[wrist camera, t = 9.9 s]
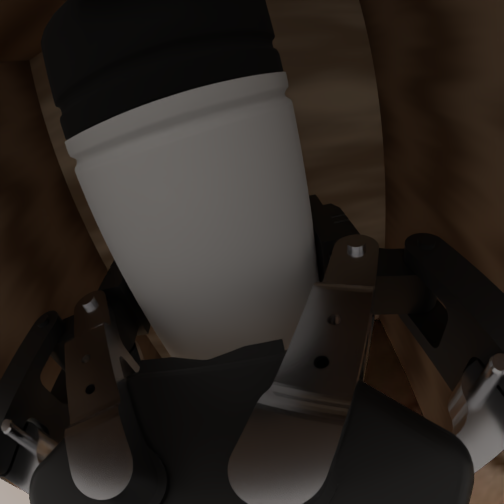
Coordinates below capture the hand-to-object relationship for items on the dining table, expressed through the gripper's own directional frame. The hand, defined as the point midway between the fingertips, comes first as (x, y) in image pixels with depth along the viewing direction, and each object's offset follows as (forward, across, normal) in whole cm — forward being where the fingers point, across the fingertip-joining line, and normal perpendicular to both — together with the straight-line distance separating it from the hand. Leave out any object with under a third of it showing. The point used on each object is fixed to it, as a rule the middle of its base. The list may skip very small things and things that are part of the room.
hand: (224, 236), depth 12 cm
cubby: (-1, 0, +14) cm, 15 cm away
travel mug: (-2, 0, +11) cm, 11 cm away
